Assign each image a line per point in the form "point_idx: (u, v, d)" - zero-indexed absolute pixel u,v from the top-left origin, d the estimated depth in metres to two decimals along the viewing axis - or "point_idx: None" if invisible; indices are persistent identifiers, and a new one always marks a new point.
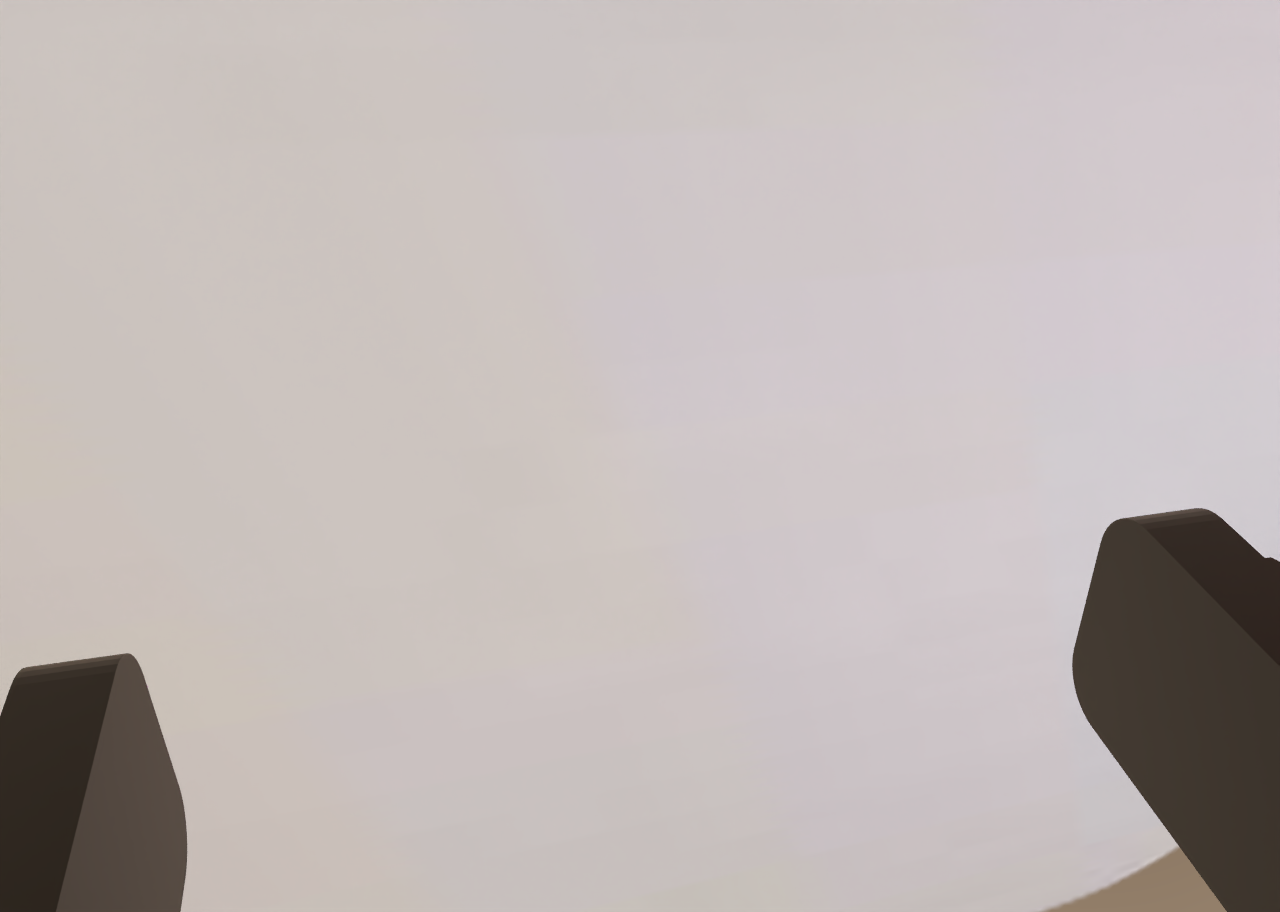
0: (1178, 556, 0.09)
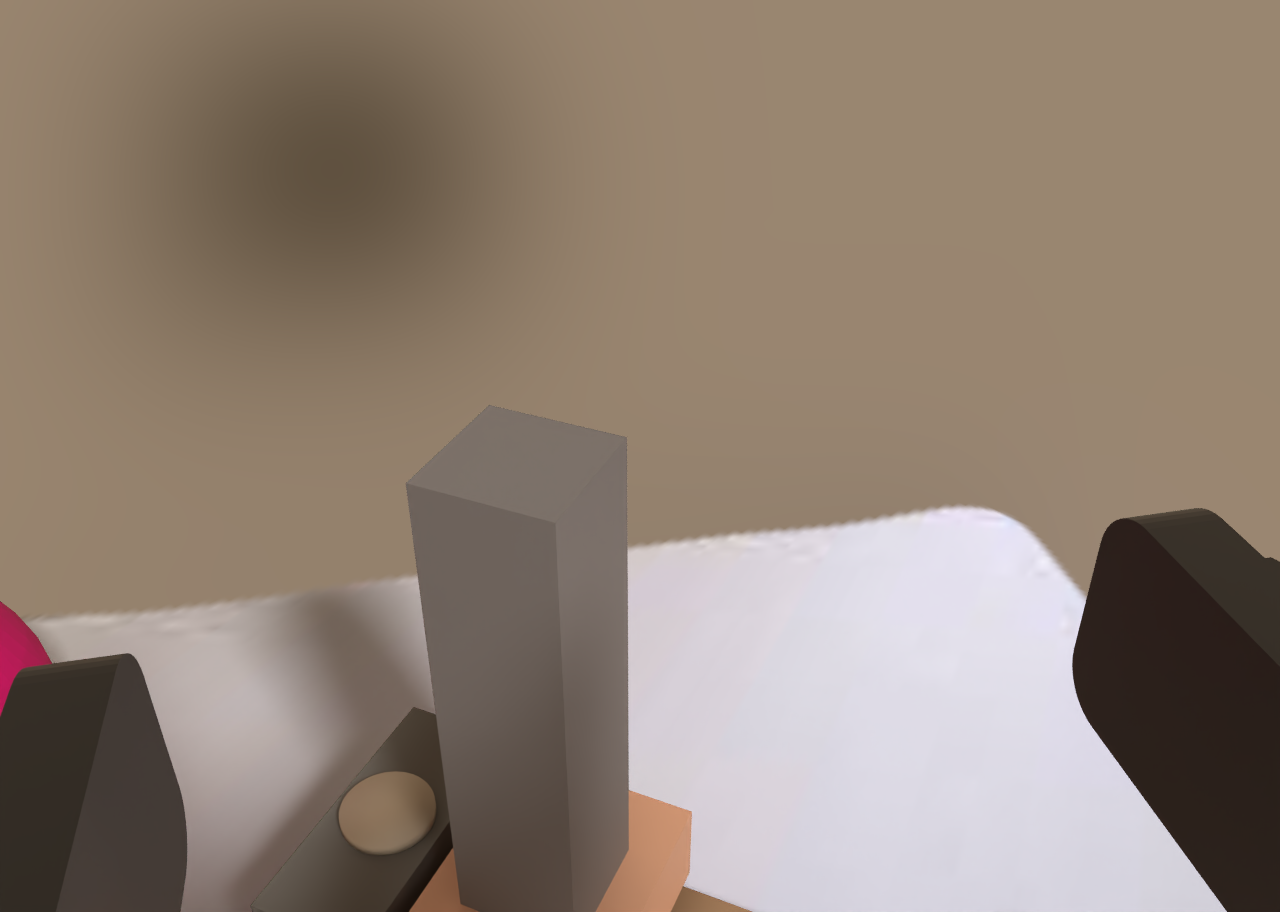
0: (1178, 556, 0.09)
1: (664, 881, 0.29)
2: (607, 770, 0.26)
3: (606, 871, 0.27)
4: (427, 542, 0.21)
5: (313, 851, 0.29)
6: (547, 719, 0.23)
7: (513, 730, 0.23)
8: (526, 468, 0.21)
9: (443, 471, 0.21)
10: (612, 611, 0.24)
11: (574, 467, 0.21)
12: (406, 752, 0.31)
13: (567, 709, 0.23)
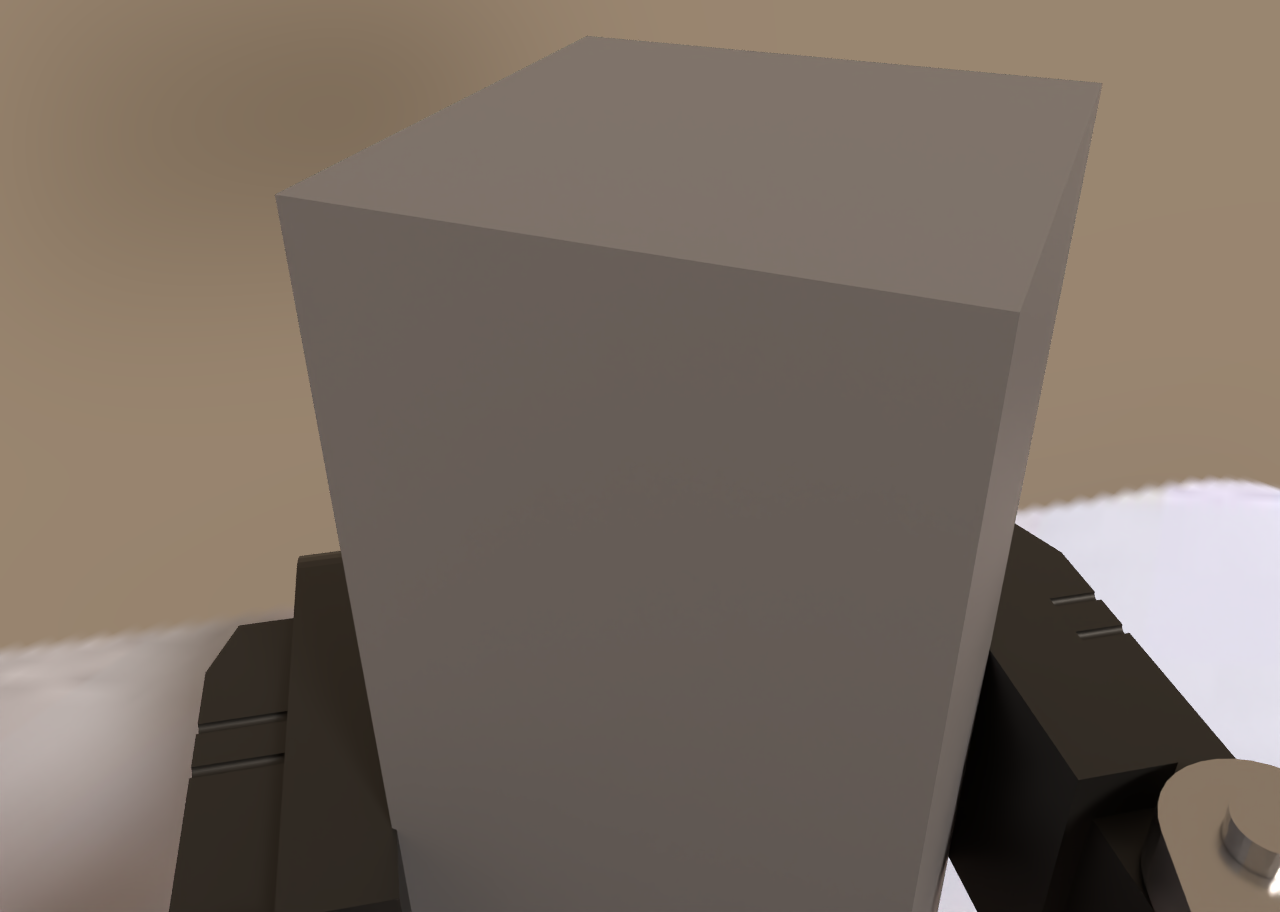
0: None
1: None
2: None
3: None
4: (377, 461, 0.05)
5: None
6: None
7: None
8: (778, 150, 0.05)
9: (441, 162, 0.05)
10: (975, 700, 0.08)
11: (970, 147, 0.05)
12: None
13: None
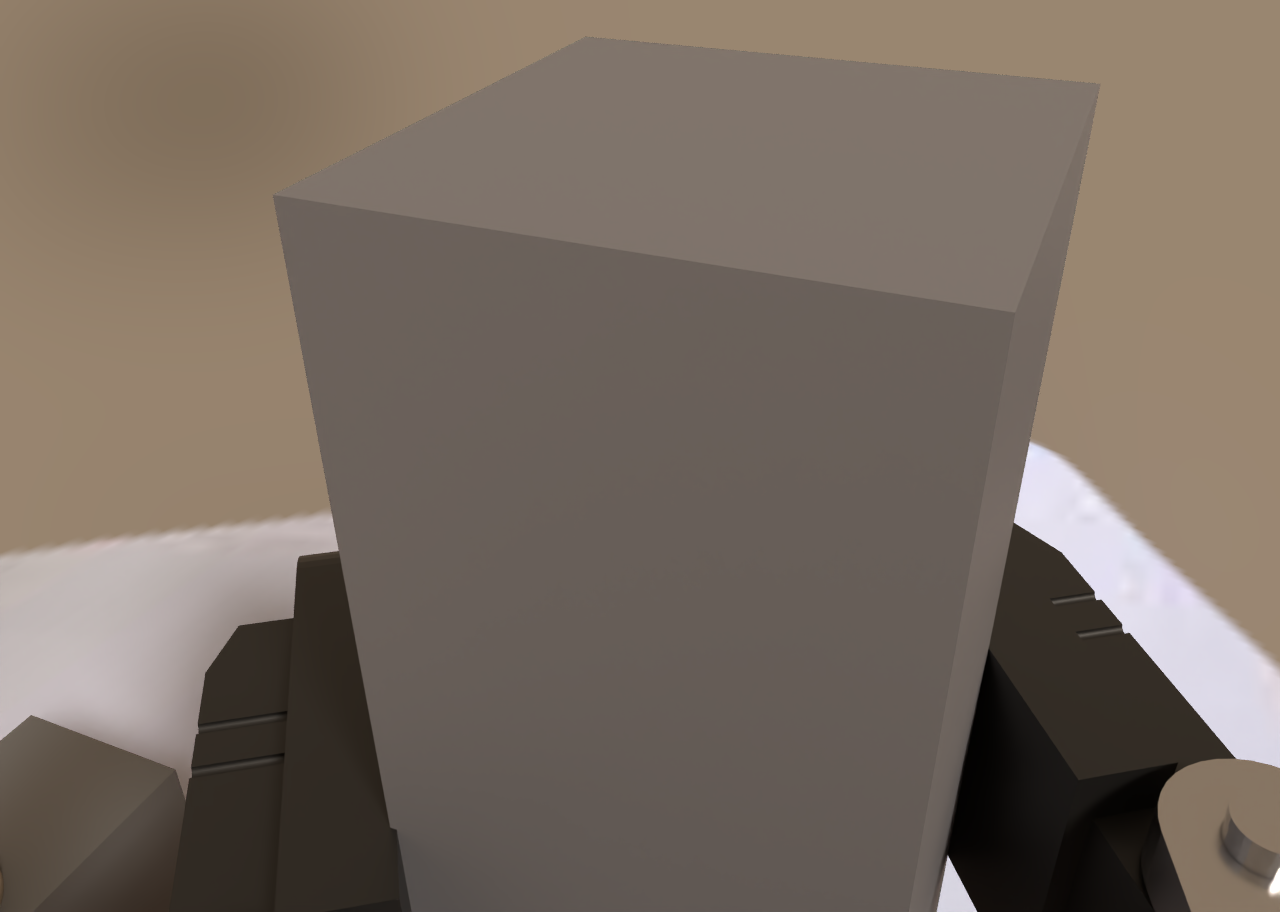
0: None
1: None
2: None
3: None
4: (375, 461, 0.05)
5: None
6: None
7: None
8: (775, 153, 0.05)
9: (439, 162, 0.05)
10: (973, 700, 0.08)
11: (965, 148, 0.05)
12: None
13: None
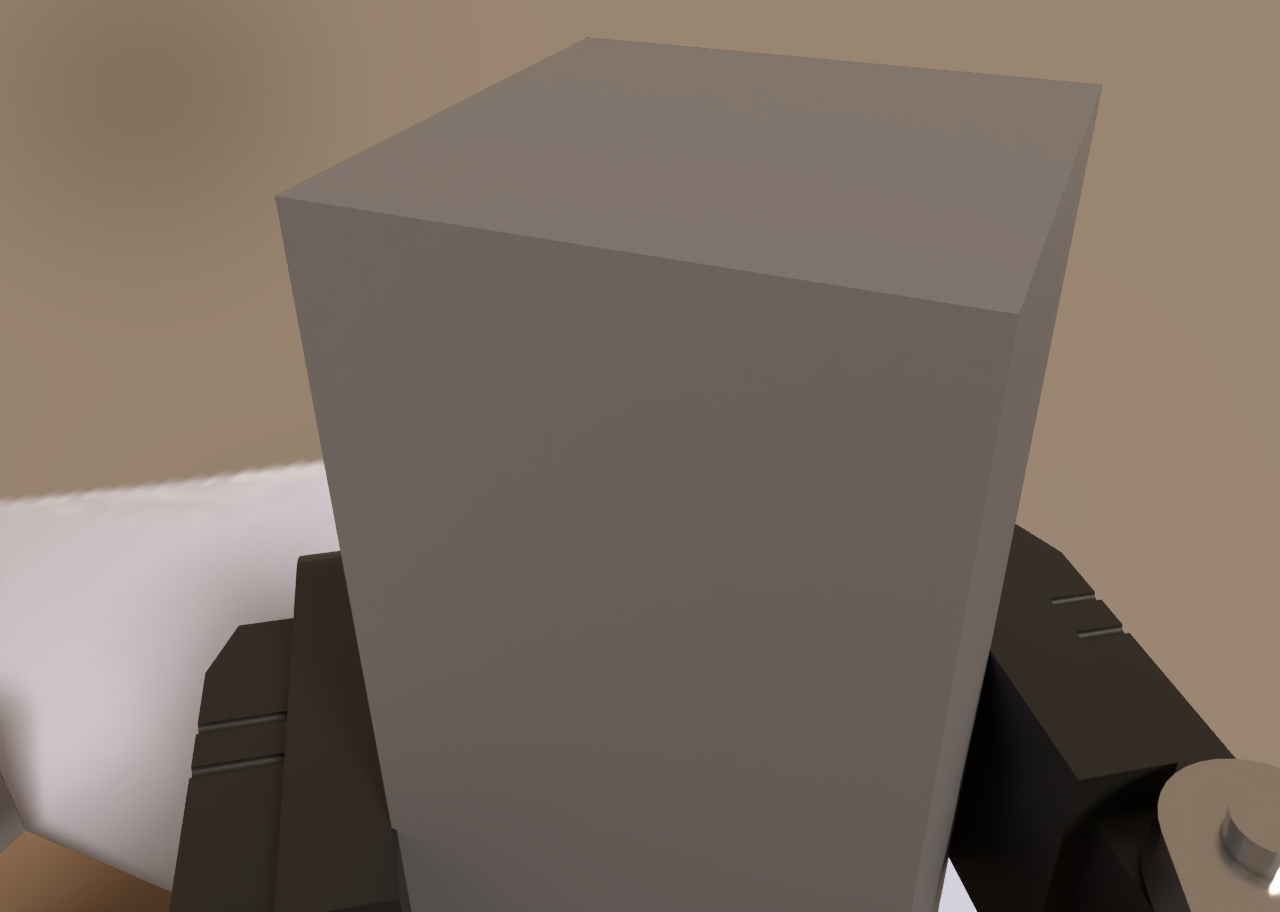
0: None
1: None
2: None
3: None
4: (377, 462, 0.05)
5: None
6: None
7: None
8: (775, 153, 0.05)
9: (443, 162, 0.05)
10: (975, 700, 0.08)
11: (968, 147, 0.05)
12: None
13: None
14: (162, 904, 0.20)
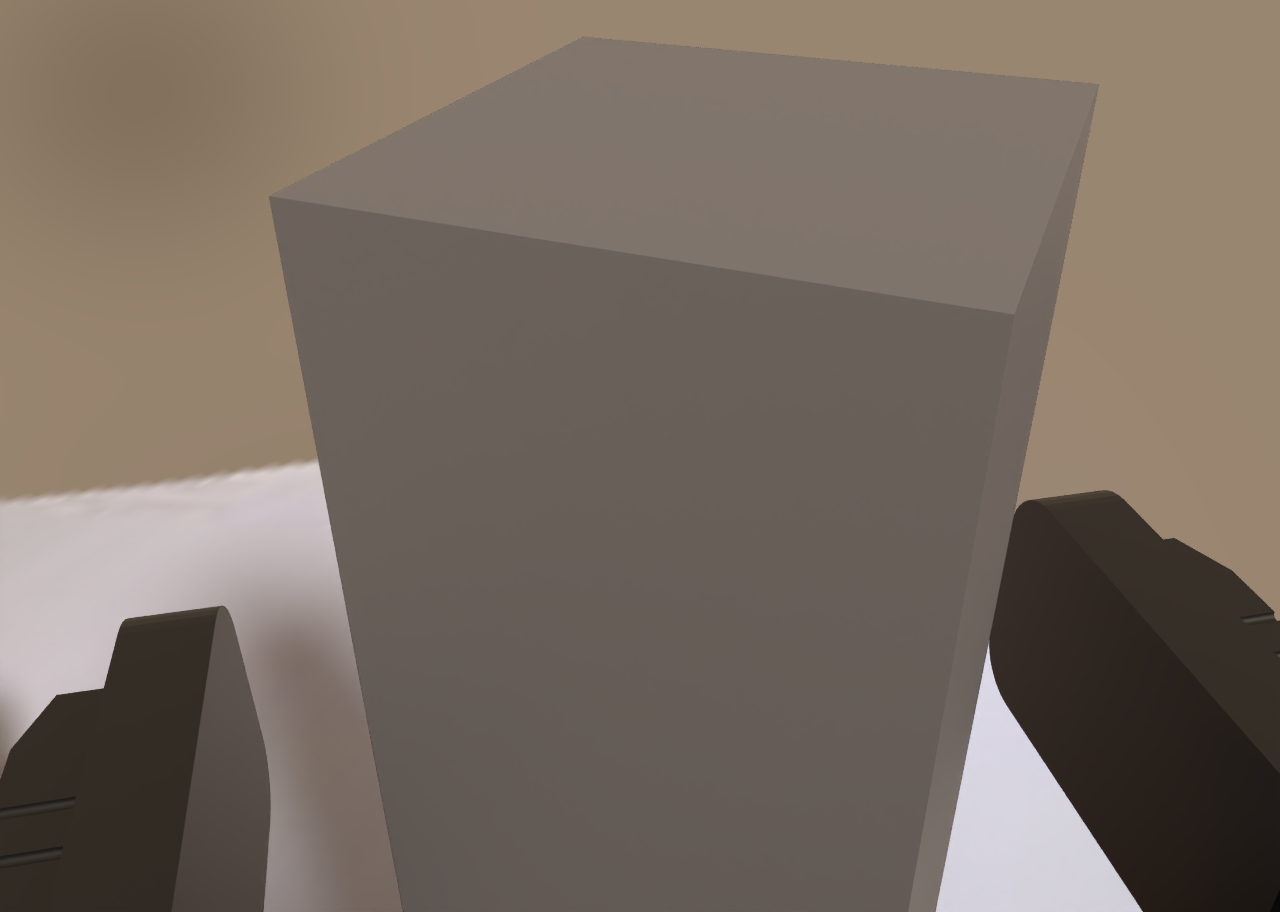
0: (1078, 535, 0.09)
1: None
2: None
3: None
4: (372, 463, 0.05)
5: None
6: None
7: None
8: (771, 152, 0.05)
9: (435, 163, 0.05)
10: (972, 700, 0.08)
11: (967, 148, 0.05)
12: None
13: None
14: None
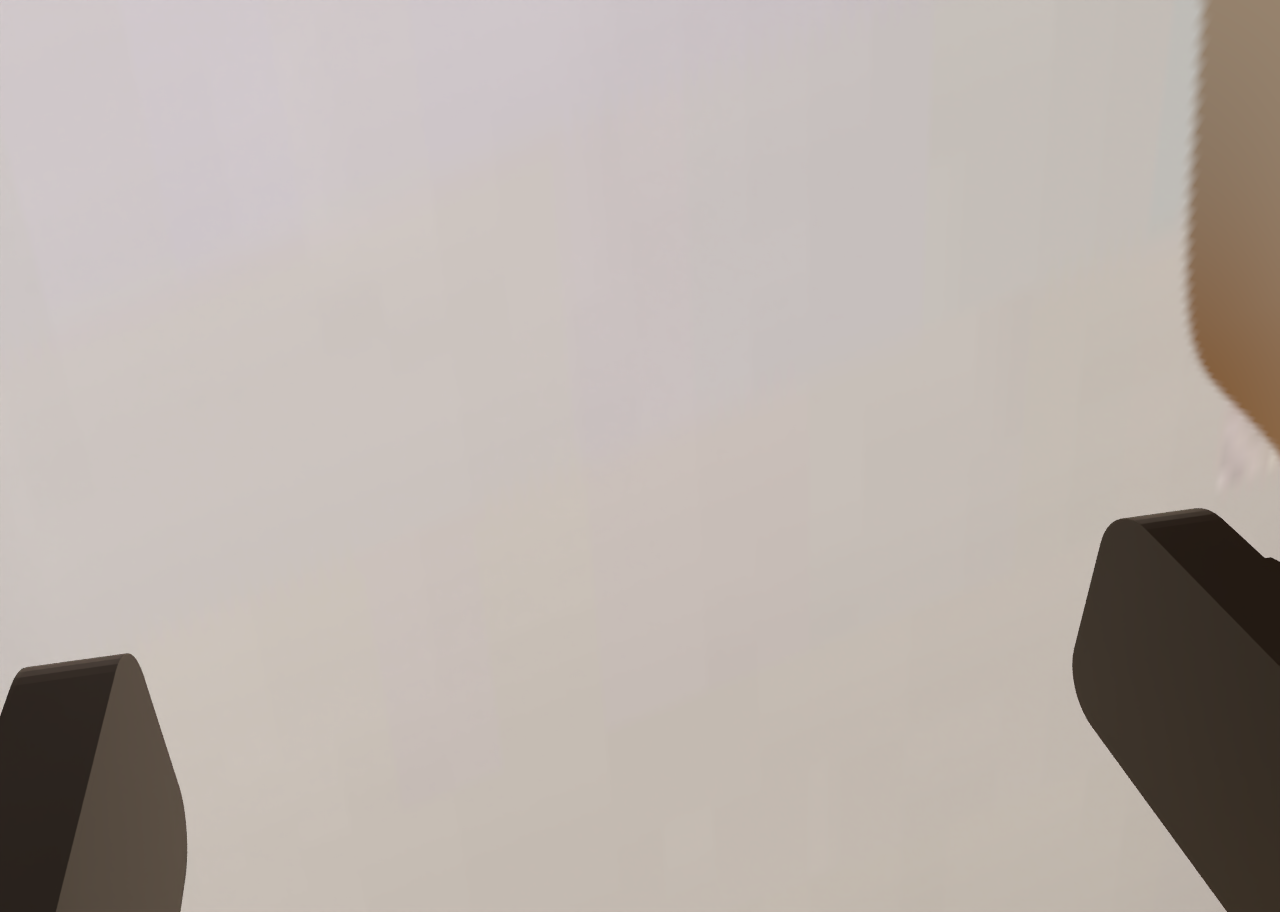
0: (1178, 556, 0.09)
1: None
2: None
3: None
4: None
5: None
6: None
7: None
8: None
9: None
10: None
11: None
12: None
13: None
14: None
